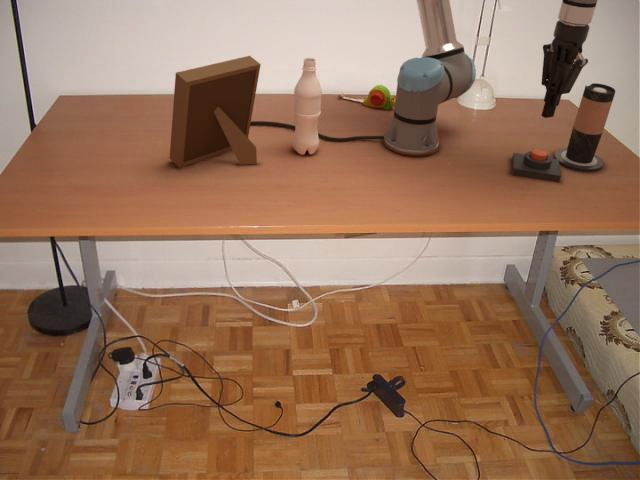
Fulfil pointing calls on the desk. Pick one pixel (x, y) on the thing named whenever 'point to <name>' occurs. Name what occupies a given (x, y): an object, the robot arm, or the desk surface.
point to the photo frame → (214, 111)
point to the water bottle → (307, 109)
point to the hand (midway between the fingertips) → (547, 116)
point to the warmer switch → (535, 167)
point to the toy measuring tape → (376, 98)
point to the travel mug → (590, 122)
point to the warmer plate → (581, 167)
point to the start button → (539, 155)
